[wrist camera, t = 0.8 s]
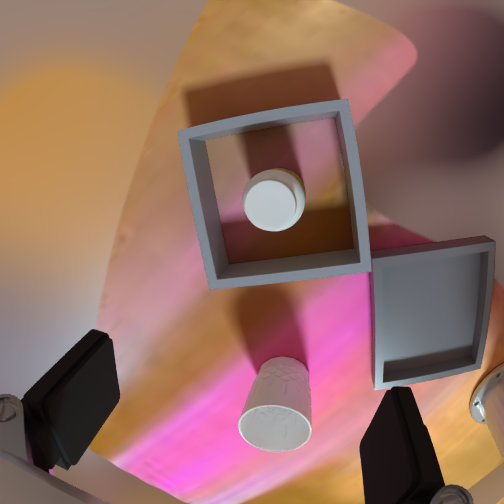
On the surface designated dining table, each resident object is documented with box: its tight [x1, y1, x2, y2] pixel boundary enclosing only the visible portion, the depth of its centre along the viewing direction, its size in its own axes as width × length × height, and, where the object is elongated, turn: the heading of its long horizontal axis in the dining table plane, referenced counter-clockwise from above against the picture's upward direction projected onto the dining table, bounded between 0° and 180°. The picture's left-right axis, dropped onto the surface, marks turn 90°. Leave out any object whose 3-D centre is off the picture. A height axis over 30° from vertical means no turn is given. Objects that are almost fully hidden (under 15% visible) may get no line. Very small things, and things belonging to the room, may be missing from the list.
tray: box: [369, 236, 496, 390], centre depth 33 cm, size 15×17×3 cm
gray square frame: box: [177, 99, 371, 290], centre depth 31 cm, size 16×16×5 cm
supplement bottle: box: [243, 168, 305, 231], centre depth 29 cm, size 5×5×10 cm
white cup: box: [238, 356, 312, 452], centre depth 35 cm, size 8×8×10 cm
